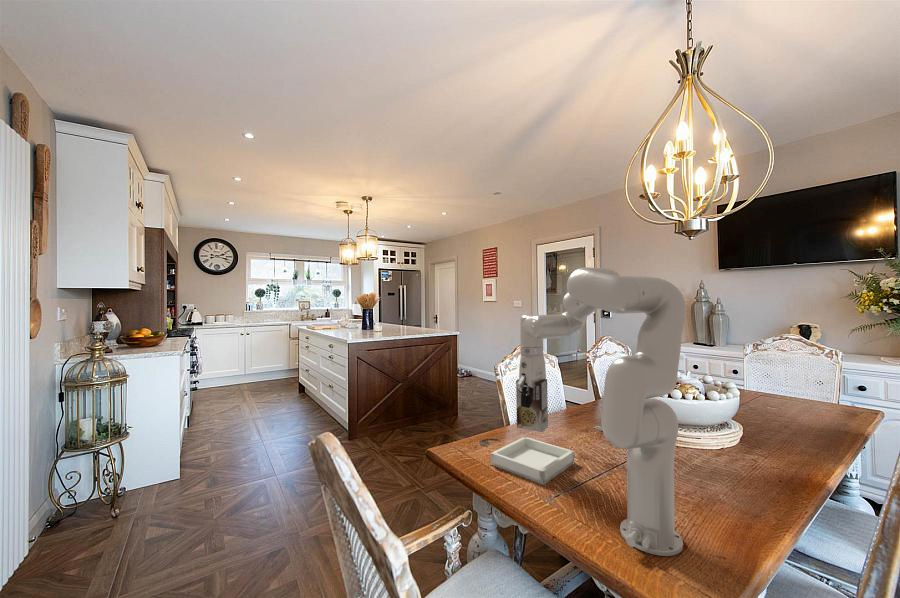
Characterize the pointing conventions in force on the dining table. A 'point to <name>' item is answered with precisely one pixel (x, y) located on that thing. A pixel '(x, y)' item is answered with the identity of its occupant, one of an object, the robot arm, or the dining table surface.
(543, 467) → the tray
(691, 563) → the dining table surface
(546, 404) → the coffee box
